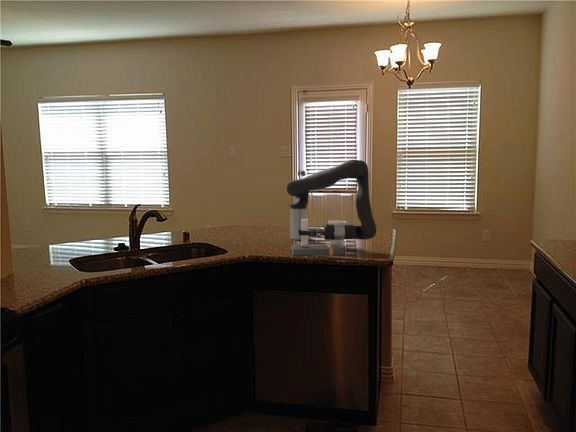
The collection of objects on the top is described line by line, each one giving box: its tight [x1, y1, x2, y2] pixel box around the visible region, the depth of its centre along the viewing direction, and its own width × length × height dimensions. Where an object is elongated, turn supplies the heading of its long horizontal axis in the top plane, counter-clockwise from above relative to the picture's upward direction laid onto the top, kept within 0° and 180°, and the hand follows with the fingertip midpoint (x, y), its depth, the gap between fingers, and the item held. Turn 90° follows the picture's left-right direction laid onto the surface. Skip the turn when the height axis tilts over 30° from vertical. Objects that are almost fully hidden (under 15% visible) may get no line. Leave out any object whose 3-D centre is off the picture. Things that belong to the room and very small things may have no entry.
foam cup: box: [327, 219, 348, 248], centre depth 244 cm, size 10×9×13 cm
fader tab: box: [300, 218, 310, 247], centre depth 228 cm, size 4×4×13 cm
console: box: [291, 243, 345, 257], centre depth 229 cm, size 24×12×3 cm, turn 93°
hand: (298, 232), depth 227 cm, fingers closed on fader tab, 3 cm apart
